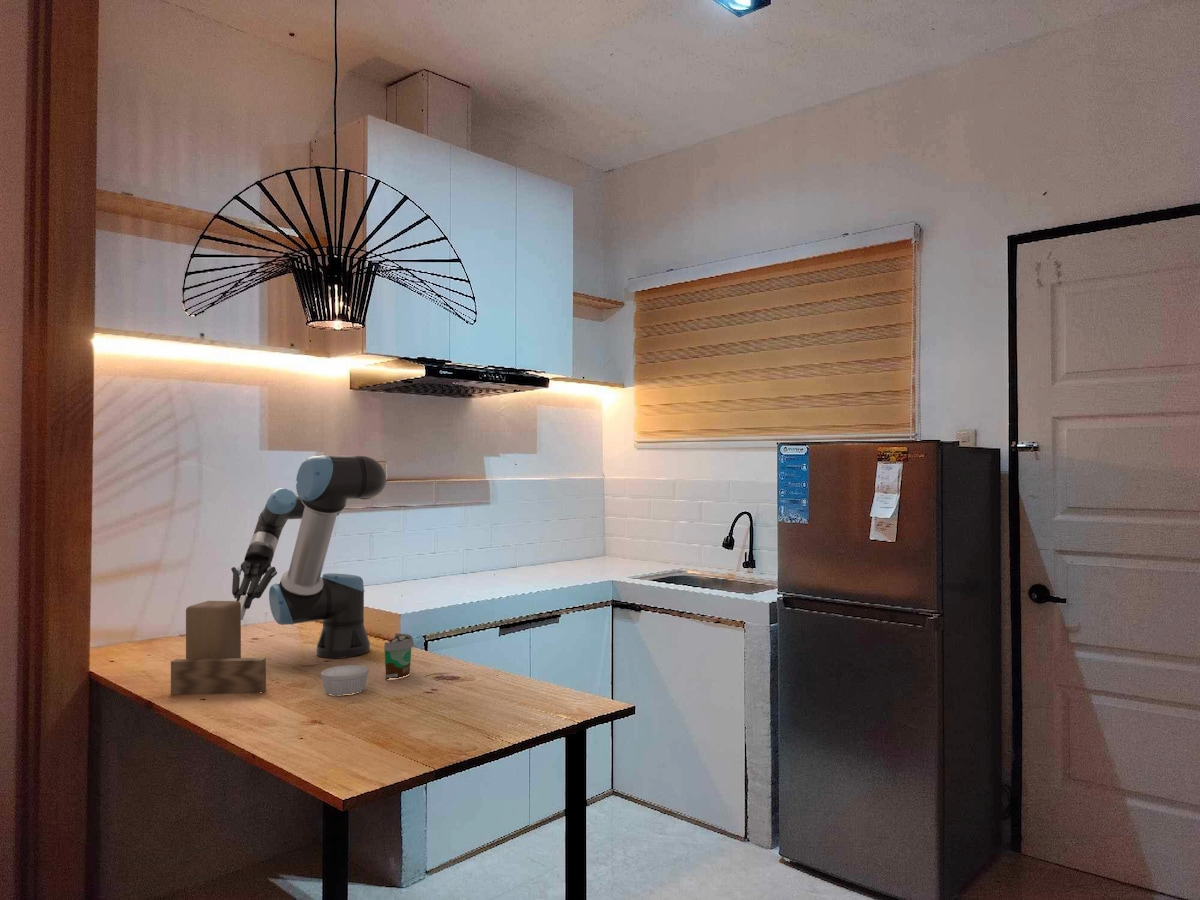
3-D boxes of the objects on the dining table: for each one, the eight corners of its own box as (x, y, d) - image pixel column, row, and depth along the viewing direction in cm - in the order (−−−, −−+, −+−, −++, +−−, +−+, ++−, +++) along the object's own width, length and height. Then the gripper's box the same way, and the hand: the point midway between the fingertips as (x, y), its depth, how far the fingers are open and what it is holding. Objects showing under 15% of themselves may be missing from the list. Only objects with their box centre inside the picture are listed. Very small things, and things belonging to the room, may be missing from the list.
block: (242, 676, 219) (242, 600, 219) (221, 686, 209) (221, 607, 209) (206, 675, 220) (206, 600, 220) (184, 685, 210) (184, 606, 210)
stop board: (265, 690, 205) (265, 657, 205) (262, 693, 202) (262, 660, 202) (175, 691, 204) (175, 659, 204) (170, 694, 202) (170, 661, 202)
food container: (408, 682, 212) (408, 642, 212) (384, 682, 211) (384, 643, 212) (418, 669, 224) (418, 632, 224) (395, 670, 224) (395, 633, 224)
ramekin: (312, 692, 203) (312, 670, 203) (354, 683, 211) (354, 662, 211) (334, 701, 195) (334, 678, 195) (377, 691, 203) (377, 669, 203)
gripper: (286, 558, 250) (265, 624, 233) (242, 558, 250) (218, 625, 233) (280, 542, 245) (258, 609, 228) (235, 543, 244) (210, 609, 228)
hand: (238, 617), depth 230 cm, fingers closed
